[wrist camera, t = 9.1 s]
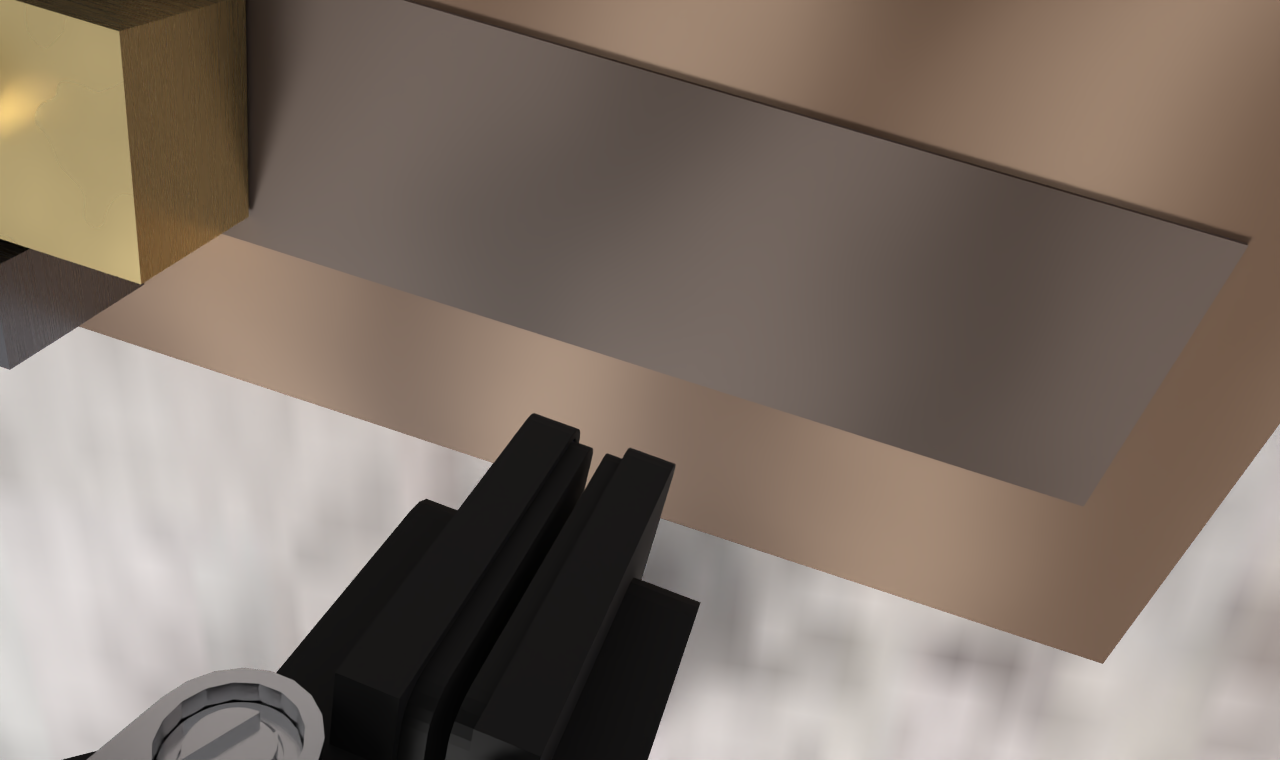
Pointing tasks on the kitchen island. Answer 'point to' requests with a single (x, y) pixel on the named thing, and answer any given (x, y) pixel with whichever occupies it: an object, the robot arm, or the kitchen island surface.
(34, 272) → the keeper
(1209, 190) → the door panel
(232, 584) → the kitchen island surface
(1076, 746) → the kitchen island surface
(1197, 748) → the kitchen island surface
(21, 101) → the bolt
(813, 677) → the kitchen island surface
